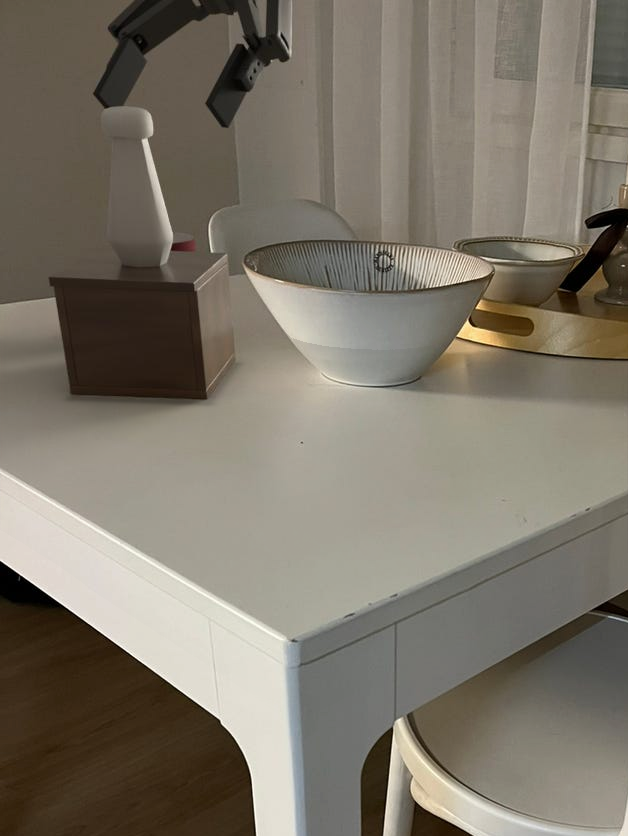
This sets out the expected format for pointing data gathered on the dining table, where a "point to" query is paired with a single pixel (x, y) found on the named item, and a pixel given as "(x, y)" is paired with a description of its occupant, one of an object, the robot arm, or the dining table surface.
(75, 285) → the chest lid
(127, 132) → the salt shaker
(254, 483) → the dining table surface
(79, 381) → the chest
